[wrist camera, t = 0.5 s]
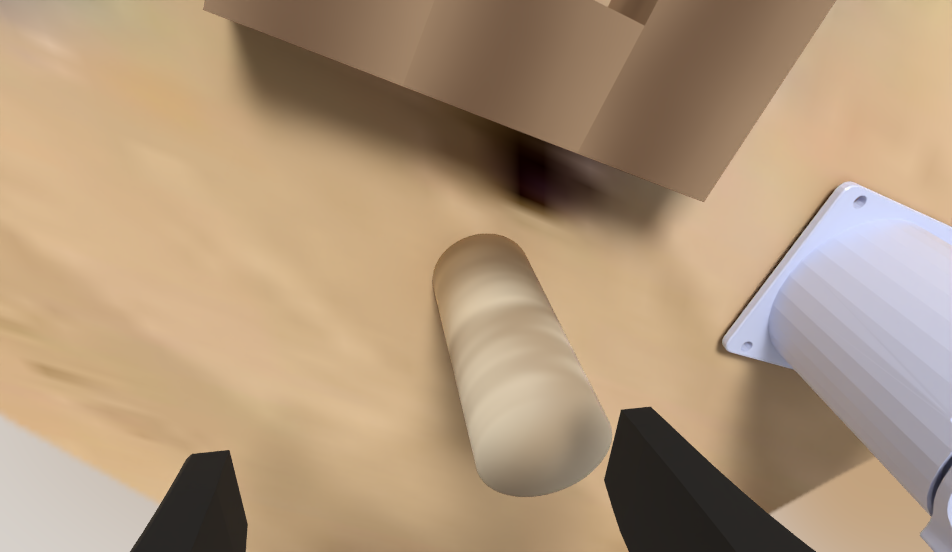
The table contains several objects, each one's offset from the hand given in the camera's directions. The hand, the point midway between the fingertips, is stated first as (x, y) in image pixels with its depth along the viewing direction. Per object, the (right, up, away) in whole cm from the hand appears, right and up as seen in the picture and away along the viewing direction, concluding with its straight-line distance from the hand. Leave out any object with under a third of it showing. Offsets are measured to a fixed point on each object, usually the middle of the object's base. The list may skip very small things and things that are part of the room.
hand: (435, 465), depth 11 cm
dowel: (+1, +4, +10) cm, 11 cm away
